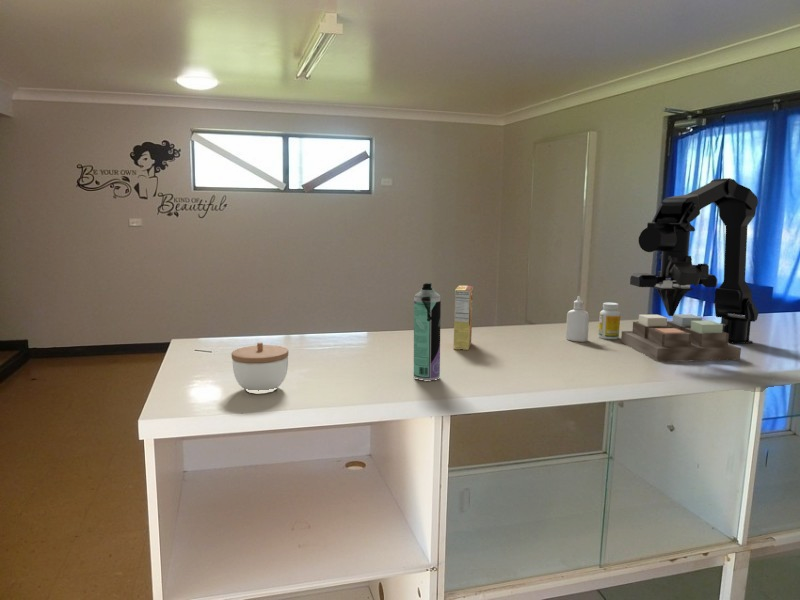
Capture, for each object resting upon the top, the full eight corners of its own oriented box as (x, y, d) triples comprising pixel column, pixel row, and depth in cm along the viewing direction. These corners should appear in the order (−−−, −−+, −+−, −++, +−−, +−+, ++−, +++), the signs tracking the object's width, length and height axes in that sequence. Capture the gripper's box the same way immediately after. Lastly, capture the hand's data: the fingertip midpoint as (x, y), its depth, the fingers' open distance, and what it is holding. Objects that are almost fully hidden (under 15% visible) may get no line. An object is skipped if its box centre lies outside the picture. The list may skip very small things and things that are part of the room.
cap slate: (690, 325, 154) (691, 314, 154) (701, 329, 149) (702, 317, 149) (672, 325, 154) (672, 314, 154) (681, 329, 149) (682, 317, 149)
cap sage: (709, 332, 145) (711, 320, 145) (721, 336, 140) (722, 324, 140) (690, 332, 145) (691, 320, 145) (701, 337, 140) (702, 324, 140)
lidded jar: (268, 401, 108) (266, 351, 107) (221, 394, 112) (219, 346, 111) (299, 385, 118) (298, 339, 116) (255, 379, 122) (254, 335, 120)
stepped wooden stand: (694, 341, 158) (695, 319, 157) (739, 360, 138) (742, 335, 137) (621, 342, 157) (622, 320, 156) (656, 361, 138) (658, 335, 137)
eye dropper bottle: (576, 337, 163) (578, 294, 161) (590, 341, 158) (592, 297, 156) (563, 338, 161) (565, 295, 160) (577, 343, 156) (579, 298, 155)
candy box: (456, 342, 157) (457, 285, 155) (472, 342, 156) (473, 285, 154) (453, 349, 149) (454, 289, 146) (469, 350, 148) (471, 290, 145)
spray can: (443, 380, 121) (444, 284, 118) (418, 382, 120) (419, 285, 117) (434, 373, 127) (435, 281, 124) (410, 375, 125) (410, 282, 122)
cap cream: (657, 325, 154) (657, 314, 153) (666, 329, 149) (667, 317, 149) (638, 325, 154) (639, 314, 153) (647, 329, 149) (647, 318, 148)
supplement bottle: (594, 337, 164) (596, 303, 162) (605, 334, 167) (607, 301, 165) (612, 340, 159) (614, 305, 158) (622, 337, 163) (624, 303, 161)
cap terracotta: (673, 340, 145) (674, 328, 145) (684, 344, 140) (685, 332, 140) (653, 340, 145) (654, 328, 145) (663, 344, 140) (664, 332, 140)
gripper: (652, 253, 131) (647, 322, 133) (734, 253, 132) (728, 321, 134) (631, 250, 142) (627, 313, 144) (706, 250, 143) (701, 313, 145)
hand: (670, 315), depth 142 cm, fingers closed
